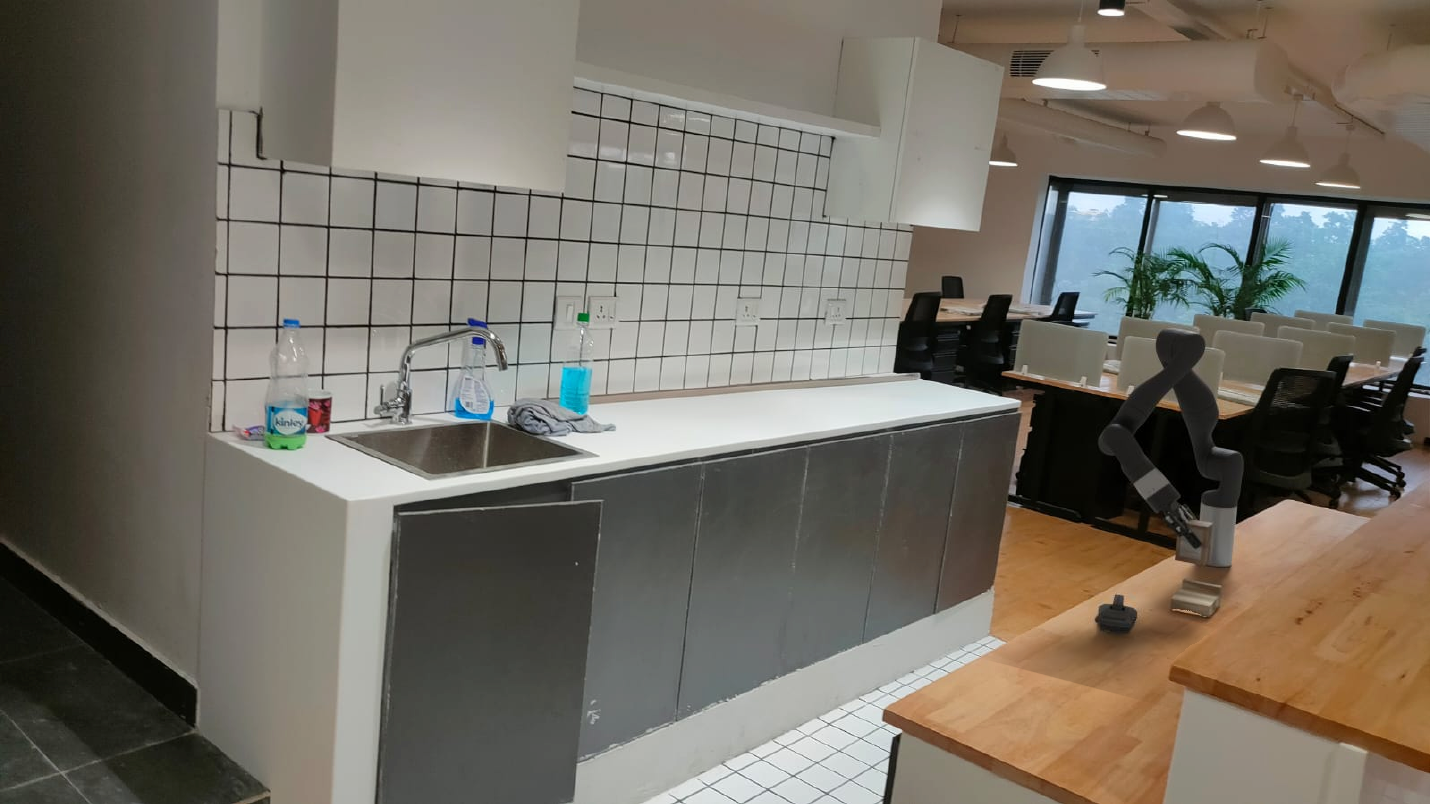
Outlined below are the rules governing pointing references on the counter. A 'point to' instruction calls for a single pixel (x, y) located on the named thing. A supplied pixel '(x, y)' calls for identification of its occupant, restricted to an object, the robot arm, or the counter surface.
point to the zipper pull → (1116, 616)
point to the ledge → (1197, 597)
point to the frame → (1201, 553)
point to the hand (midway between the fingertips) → (1201, 544)
